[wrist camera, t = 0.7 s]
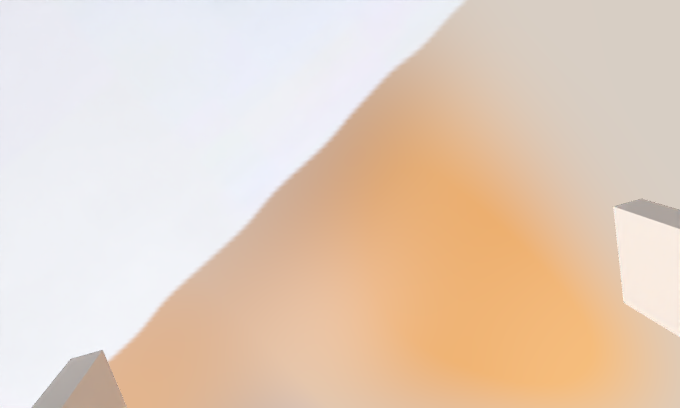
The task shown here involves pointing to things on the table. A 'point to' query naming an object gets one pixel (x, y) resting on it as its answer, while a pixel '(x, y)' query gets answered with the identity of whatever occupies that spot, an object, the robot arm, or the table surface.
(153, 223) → the table surface
